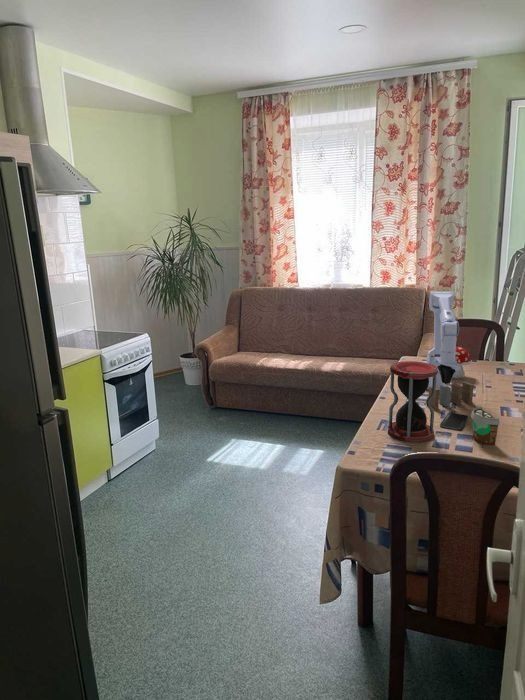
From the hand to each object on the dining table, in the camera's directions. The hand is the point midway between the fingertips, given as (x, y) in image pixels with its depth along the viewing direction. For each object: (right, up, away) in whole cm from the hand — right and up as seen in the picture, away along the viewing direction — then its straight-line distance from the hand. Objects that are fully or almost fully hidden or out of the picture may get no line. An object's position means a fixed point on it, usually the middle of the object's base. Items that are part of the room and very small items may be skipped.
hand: (445, 383), depth 211 cm
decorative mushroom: (+19, 0, +39) cm, 43 cm away
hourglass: (-22, -17, -25) cm, 37 cm away
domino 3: (+5, -9, +4) cm, 11 cm away
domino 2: (0, -9, +2) cm, 9 cm away
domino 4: (+11, -8, +5) cm, 14 cm away
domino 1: (-5, -10, +1) cm, 11 cm away
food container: (0, -18, -32) cm, 36 cm away
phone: (-2, -14, -16) cm, 21 cm away
